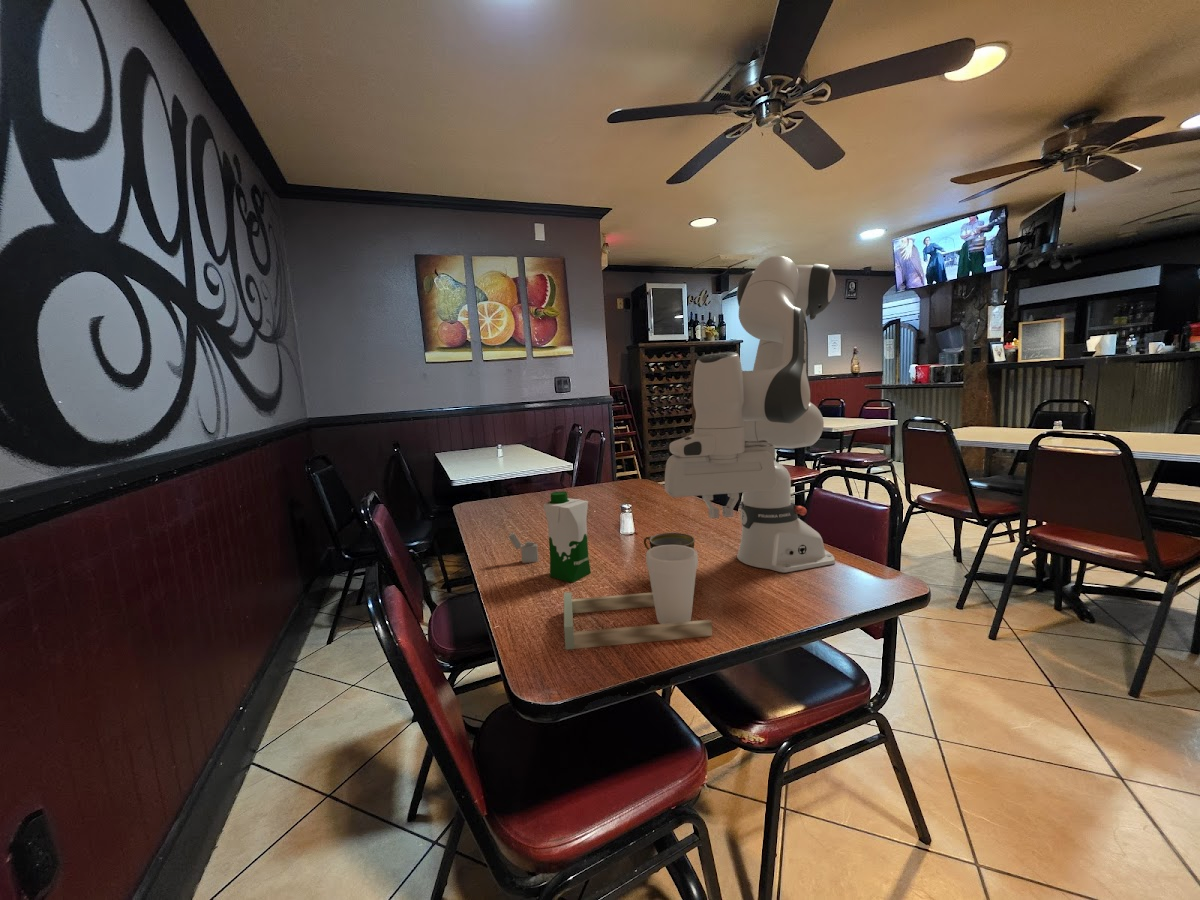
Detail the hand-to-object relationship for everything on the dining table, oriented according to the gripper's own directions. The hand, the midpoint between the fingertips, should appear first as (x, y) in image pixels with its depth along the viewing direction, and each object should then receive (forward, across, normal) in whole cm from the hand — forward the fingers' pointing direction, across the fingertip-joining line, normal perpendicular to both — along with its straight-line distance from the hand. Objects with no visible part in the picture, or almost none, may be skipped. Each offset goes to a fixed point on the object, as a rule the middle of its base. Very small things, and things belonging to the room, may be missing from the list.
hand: (720, 516), depth 85 cm
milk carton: (+19, +28, -26) cm, 43 cm away
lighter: (+19, +40, -38) cm, 59 cm away
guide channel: (+19, +16, 0) cm, 25 cm away
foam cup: (+19, +10, 0) cm, 22 cm away
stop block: (+19, +29, 0) cm, 35 cm away
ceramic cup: (+19, +6, -18) cm, 27 cm away
